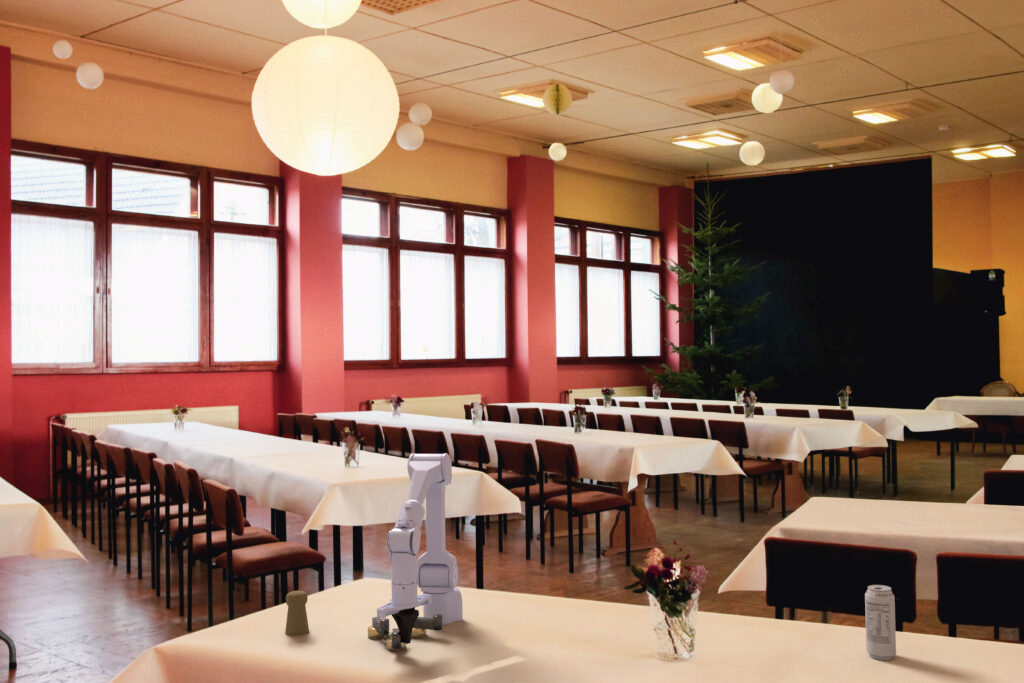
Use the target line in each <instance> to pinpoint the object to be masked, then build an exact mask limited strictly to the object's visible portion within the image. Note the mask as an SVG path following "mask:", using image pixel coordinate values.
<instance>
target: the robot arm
mask: <svg viewBox="0 0 1024 683" xmlns="http://www.w3.org/2000/svg"><path fill="white" fill-rule="evenodd" d="M406 467H407V474H408V477H409V481H410V486H409V492H408V496H407V501H404V502H403V503H402V504H401V505H400V508H399V511H398V515H397V518H396V521H395V525H394V527H393V528H391V529H390V530H389V531H388V532H387V536H386V543H385V545H386V551H387V554H388V561H389V563H390V567H391V568H390V572H391V573H390V575H391V576H390V577H391V579H390V580H391V599H389V600H390V601H389V602H388V603H386V604H384V605H382V606H380V607H378V608H377V607H376V617H379V618H381V619H387V617H389V616H391V617H392V618H393V619H394V621H395V624H396V626H397V628H398V629H399V631H400V632H401V642H402V643H405V644H406V645H409V644H411V642H412V638H411V633H412V629H413V626H414V624H415V621H416V619H417V617H420V610H418V609H416V608H418V607H421V606H422V608H423V612H422V613H423V617H425V618H433V615H436V614H440V615H442V626H444V625H446V626H447V625H448V624H451V623H454V622H455V623H456V622H459V621H463V619H464V618H463V614H464V613H463V595H462V593H461V591H460V589H459V588H458V587H457V586H458V582H459V568H458V561H457V557H456V556H455V555H453V554H452V553H450V551H448V550H447V548H446V486H448V485H451V484H452V480H453V479H452V478H453V469H452V468H453V466H452V459H451V456H450V455H449V453H447V452H445V453H416V452H413V453H411V454H410V455H409V457H408V459H407V466H406ZM424 502H425V508H424V505H423V504H424ZM425 515H426V516H425ZM424 516H425V517H426V519H425V521H426V522H425V523H426V524H425V528H426V530H425V531H426V533H425V534H426V535H425V536H426V551H425V552H424V553H423V554H421V555H420V556H419V557H418V558H417V556H418V552H419V551H420V547H421V536H422V532H421V527H422V524H423V519H424ZM418 589H420V592H422V594H420V595H419V594H418Z"/></svg>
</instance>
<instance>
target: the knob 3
mask: <svg viewBox="0 0 1024 683" xmlns="http://www.w3.org/2000/svg"><path fill="white" fill-rule="evenodd" d="M427 630H431V631H436V632H441V631H442V630H443V625H442V615H440V614H436V615H433V618H425V617H424V616H418V617H417V619H416V621H415V624H414V626H413V629H412V633H411V639H422V638H425V637H426V636H427Z"/></svg>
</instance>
